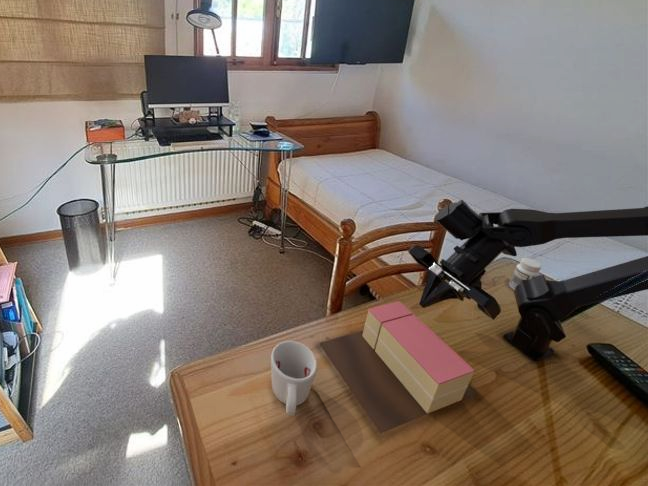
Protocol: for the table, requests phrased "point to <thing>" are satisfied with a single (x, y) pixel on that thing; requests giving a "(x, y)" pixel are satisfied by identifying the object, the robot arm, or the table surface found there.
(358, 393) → the serving board
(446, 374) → the cake
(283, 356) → the cup
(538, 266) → the pill bottle
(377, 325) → the cake slice
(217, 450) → the table surface
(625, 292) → the robot arm
